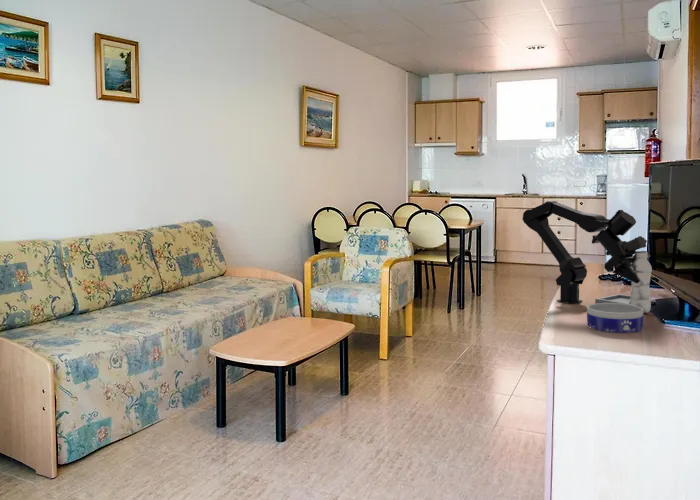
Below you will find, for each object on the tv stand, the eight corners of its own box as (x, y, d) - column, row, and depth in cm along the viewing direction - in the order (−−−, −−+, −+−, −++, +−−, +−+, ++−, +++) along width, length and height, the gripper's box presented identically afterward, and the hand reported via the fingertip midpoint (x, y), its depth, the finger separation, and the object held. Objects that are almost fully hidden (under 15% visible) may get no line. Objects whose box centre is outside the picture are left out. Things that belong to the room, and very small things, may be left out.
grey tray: (632, 309, 204) (632, 304, 204) (595, 302, 215) (595, 298, 215) (655, 303, 212) (655, 299, 211) (618, 298, 223) (618, 294, 223)
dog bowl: (609, 335, 171) (610, 314, 170) (575, 324, 185) (576, 304, 185) (655, 331, 175) (655, 310, 174) (618, 320, 189) (618, 301, 189)
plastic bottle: (646, 310, 201) (647, 250, 198) (654, 315, 194) (655, 252, 192) (625, 310, 201) (627, 250, 199) (633, 315, 195) (634, 253, 192)
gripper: (613, 230, 193) (646, 268, 185) (645, 226, 203) (677, 262, 195) (590, 253, 200) (621, 290, 192) (622, 248, 210) (653, 283, 203)
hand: (644, 281), depth 195 cm, fingers open, 7 cm apart
